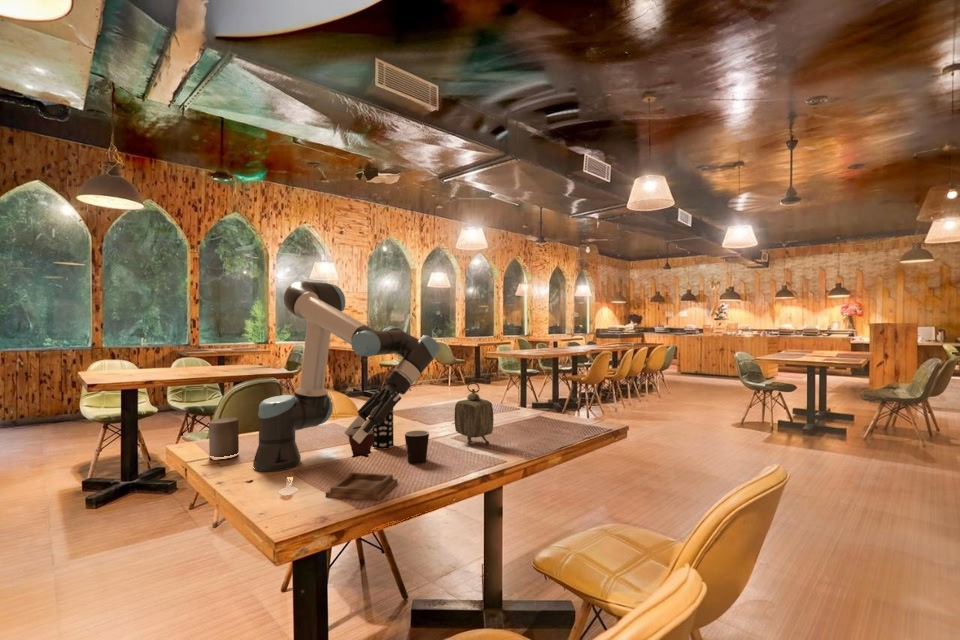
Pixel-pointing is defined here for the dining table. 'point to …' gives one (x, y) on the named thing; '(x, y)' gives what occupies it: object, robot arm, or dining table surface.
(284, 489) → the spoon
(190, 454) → the dining table surface
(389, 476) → the walnut stand
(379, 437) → the spotted tube
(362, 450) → the mate gourd
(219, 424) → the pillar candle
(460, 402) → the tabletop clock
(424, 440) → the coffee mug
